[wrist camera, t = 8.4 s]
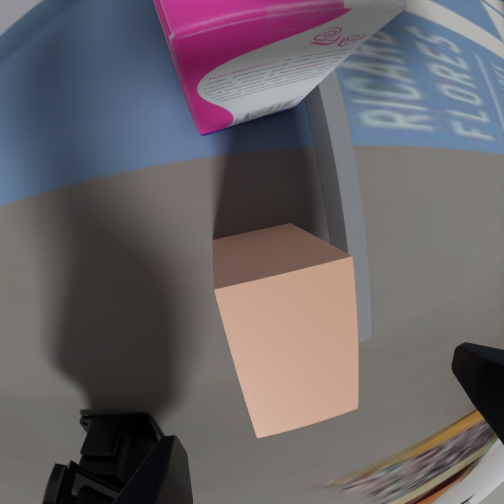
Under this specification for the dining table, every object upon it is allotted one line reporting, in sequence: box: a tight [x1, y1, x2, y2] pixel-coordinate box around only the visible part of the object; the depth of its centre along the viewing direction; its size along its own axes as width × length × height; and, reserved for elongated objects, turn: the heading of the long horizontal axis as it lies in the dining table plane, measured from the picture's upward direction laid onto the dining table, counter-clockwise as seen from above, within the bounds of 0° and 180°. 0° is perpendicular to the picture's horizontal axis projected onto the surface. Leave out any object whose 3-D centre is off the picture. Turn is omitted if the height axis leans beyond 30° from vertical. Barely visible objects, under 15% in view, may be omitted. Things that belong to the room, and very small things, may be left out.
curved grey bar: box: [304, 69, 372, 343], centre depth 15 cm, size 20×1×2 cm, turn 11°
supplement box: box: [153, 0, 406, 136], centre depth 9 cm, size 6×6×12 cm
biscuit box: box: [213, 223, 358, 438], centre depth 14 cm, size 5×7×8 cm
